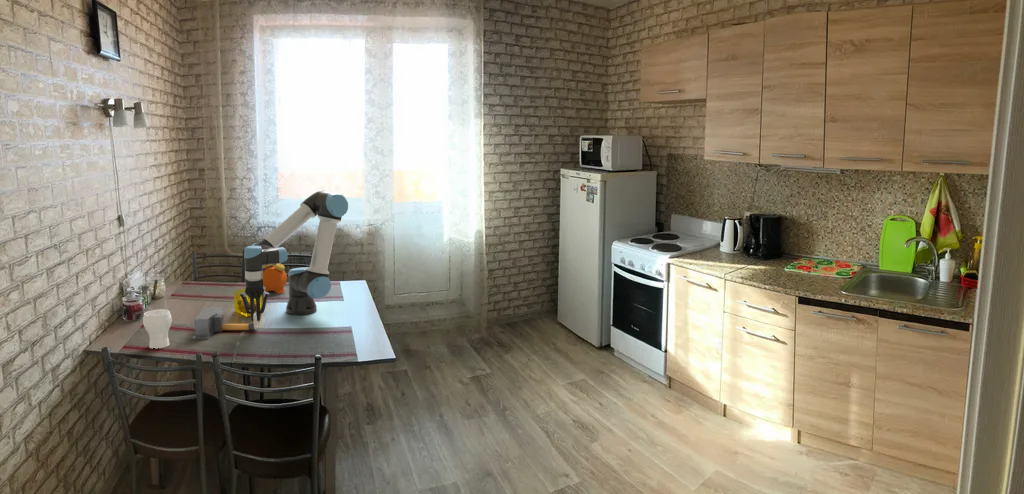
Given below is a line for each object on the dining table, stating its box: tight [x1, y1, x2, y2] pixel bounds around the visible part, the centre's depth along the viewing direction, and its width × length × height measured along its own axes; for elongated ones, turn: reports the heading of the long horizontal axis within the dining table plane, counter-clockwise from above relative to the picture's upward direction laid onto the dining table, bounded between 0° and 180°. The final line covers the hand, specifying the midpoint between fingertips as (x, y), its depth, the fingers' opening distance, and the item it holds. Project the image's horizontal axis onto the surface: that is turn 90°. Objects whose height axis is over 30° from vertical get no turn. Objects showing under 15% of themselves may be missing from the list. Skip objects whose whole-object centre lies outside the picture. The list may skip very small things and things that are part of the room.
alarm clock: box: [262, 263, 288, 295], centre depth 352 cm, size 13×6×20 cm, turn 77°
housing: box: [191, 306, 226, 340], centre depth 285 cm, size 7×25×9 cm, turn 8°
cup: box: [142, 308, 172, 350], centre depth 263 cm, size 11×11×15 cm
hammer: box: [213, 314, 256, 333], centre depth 287 cm, size 18×4×7 cm, turn 98°
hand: (256, 327), depth 289 cm, fingers closed
